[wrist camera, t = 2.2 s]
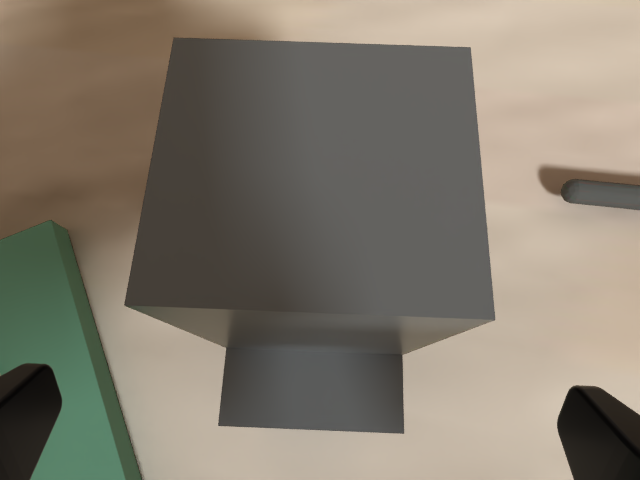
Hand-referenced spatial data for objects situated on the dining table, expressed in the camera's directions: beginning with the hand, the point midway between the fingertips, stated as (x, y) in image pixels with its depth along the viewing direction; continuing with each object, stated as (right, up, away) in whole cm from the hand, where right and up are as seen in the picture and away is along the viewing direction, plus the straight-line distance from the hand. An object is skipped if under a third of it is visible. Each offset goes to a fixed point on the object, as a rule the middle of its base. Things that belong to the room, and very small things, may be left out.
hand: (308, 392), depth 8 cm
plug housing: (0, -1, +10) cm, 10 cm away
